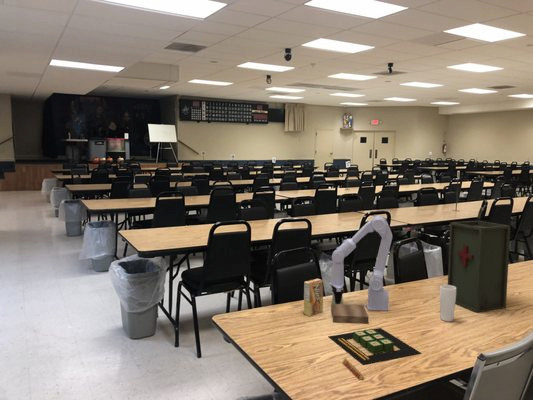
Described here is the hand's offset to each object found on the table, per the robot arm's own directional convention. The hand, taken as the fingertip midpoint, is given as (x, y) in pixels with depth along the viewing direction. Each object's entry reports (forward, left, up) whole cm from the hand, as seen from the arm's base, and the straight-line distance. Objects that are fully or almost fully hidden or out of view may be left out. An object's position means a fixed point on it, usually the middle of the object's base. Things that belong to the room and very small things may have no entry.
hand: (337, 301), depth 208 cm
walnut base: (-4, +16, -1) cm, 17 cm away
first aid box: (-68, -6, -2) cm, 68 cm away
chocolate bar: (0, +66, -2) cm, 66 cm away
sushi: (-10, +45, -2) cm, 46 cm away
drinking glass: (-47, +16, -2) cm, 50 cm away
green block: (0, 0, -2) cm, 2 cm away
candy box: (+12, +13, -2) cm, 18 cm away
